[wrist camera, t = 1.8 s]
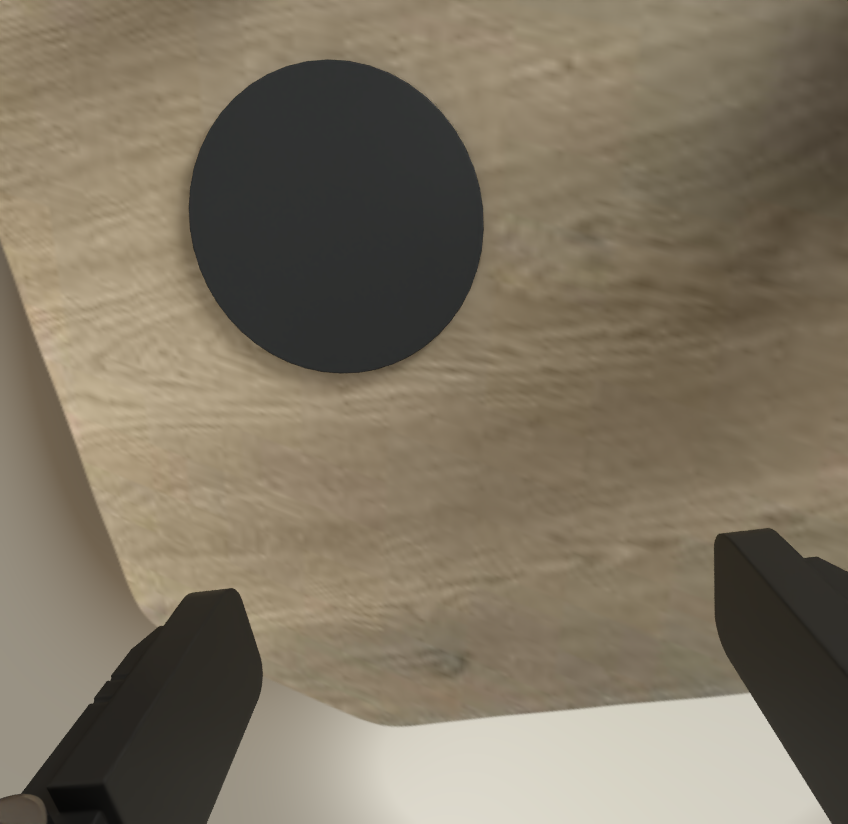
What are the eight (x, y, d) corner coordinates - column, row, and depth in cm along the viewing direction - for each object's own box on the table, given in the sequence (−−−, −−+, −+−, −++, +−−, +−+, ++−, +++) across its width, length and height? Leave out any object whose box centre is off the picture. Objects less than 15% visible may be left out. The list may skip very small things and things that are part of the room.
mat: (267, -6, 27) (264, -11, 27) (541, 171, 29) (542, 170, 29) (150, 282, 32) (145, 283, 31) (392, 418, 34) (391, 422, 33)
